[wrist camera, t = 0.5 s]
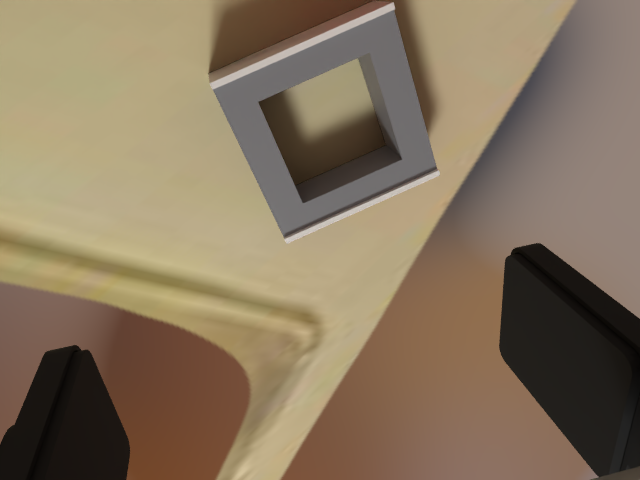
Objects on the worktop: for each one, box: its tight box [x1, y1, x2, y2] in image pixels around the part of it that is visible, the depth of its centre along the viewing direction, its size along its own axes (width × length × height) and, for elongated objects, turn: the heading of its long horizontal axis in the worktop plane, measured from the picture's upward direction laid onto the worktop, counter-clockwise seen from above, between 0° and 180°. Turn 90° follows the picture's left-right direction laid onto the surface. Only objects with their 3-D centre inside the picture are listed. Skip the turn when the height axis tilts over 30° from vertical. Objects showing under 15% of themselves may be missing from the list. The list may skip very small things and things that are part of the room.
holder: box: [208, 0, 440, 243], centre depth 35 cm, size 12×12×4 cm
